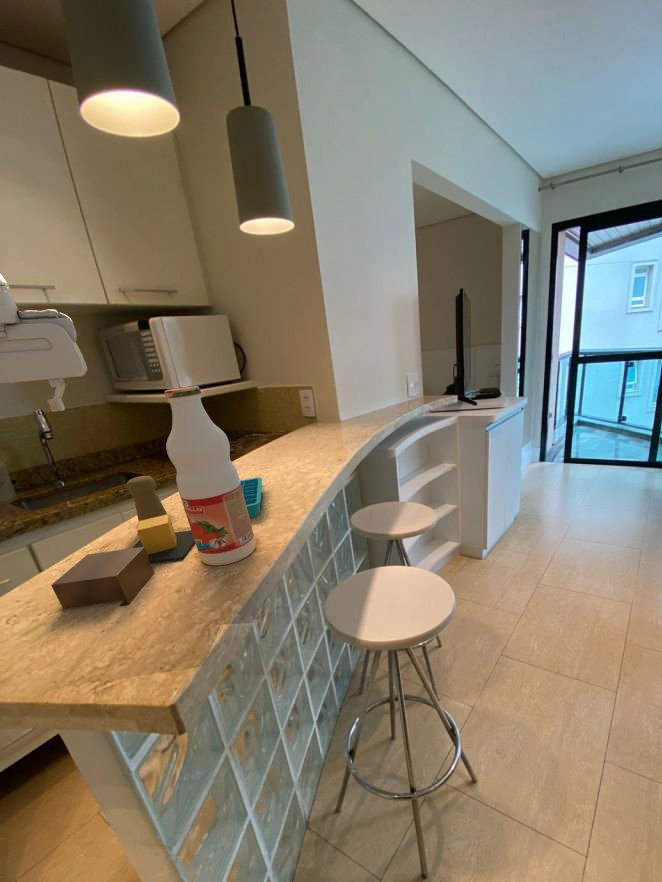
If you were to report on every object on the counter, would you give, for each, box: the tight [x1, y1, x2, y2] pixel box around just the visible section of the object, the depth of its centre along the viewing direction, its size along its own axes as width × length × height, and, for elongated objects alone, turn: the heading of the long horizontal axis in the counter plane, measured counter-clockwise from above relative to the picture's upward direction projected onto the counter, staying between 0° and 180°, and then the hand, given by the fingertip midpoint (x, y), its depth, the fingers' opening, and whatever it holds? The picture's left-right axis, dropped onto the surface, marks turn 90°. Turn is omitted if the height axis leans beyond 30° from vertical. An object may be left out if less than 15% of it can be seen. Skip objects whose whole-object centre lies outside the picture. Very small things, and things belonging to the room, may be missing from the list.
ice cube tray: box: [240, 476, 263, 519], centre depth 93 cm, size 12×20×3 cm, turn 14°
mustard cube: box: [136, 513, 176, 555], centre depth 75 cm, size 5×5×5 cm
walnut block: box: [50, 547, 155, 610], centre depth 62 cm, size 9×9×5 cm
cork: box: [126, 475, 173, 524], centre depth 85 cm, size 6×6×11 cm
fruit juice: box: [164, 385, 257, 566], centre depth 66 cm, size 9×9×28 cm
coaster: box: [131, 529, 196, 565], centre depth 76 cm, size 12×12×1 cm
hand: (20, 415), depth 61 cm, fingers open, 8 cm apart
